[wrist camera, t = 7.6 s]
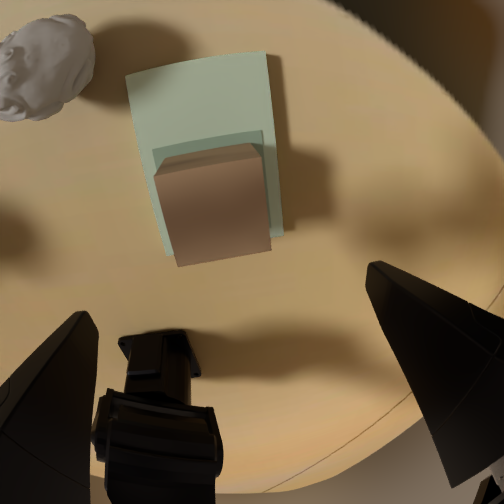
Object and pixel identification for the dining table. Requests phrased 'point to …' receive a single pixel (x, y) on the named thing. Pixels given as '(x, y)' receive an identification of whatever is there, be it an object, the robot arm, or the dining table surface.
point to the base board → (205, 118)
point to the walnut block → (214, 204)
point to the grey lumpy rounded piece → (44, 67)
